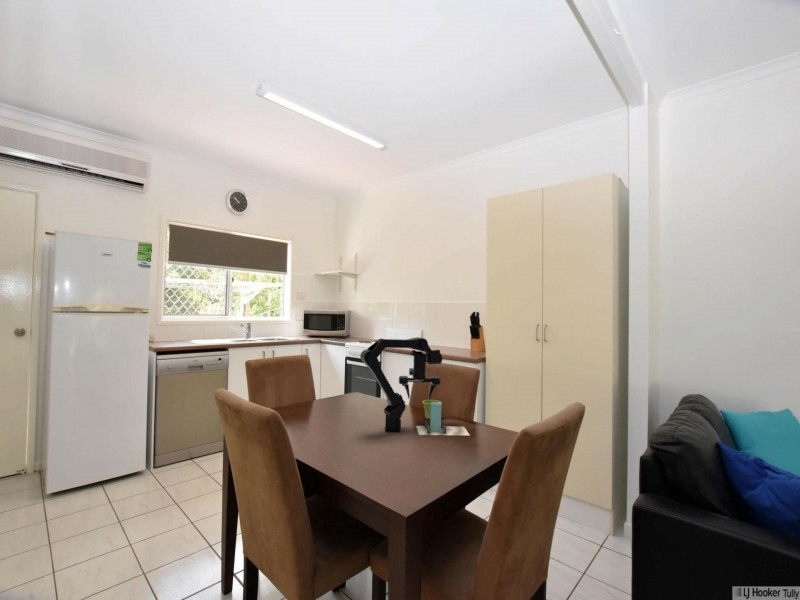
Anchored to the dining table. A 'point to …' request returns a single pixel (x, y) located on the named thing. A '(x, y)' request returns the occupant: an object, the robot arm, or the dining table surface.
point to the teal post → (435, 417)
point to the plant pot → (428, 407)
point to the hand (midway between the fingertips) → (418, 398)
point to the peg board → (442, 430)
